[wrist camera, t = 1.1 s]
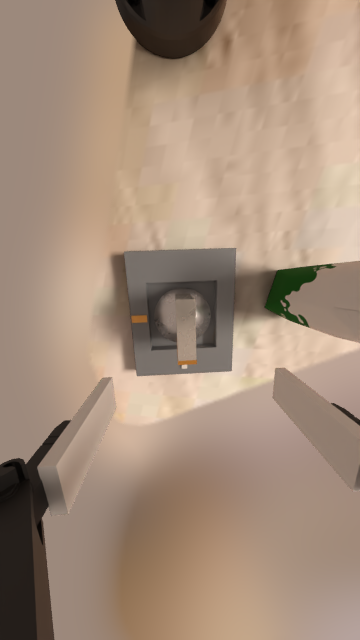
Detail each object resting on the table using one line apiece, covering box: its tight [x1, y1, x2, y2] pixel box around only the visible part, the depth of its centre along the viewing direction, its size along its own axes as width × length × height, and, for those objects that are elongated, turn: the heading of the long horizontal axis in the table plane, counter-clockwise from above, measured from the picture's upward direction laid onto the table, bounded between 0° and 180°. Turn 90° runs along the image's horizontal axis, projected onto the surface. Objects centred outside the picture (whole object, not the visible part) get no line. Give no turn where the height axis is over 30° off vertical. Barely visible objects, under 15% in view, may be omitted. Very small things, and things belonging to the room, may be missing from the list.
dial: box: [154, 287, 211, 365], centre depth 27 cm, size 10×10×10 cm
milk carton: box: [264, 261, 360, 343], centre depth 22 cm, size 9×9×20 cm
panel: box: [124, 248, 236, 376], centre depth 31 cm, size 22×18×3 cm
